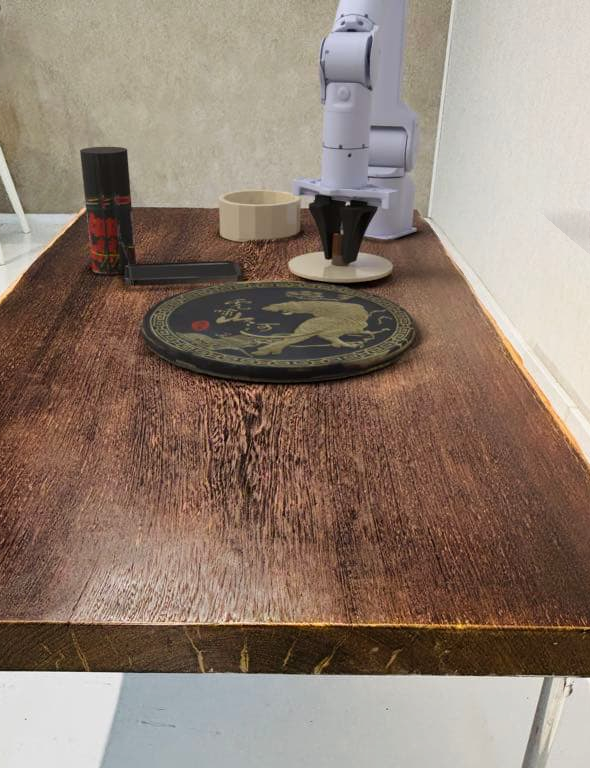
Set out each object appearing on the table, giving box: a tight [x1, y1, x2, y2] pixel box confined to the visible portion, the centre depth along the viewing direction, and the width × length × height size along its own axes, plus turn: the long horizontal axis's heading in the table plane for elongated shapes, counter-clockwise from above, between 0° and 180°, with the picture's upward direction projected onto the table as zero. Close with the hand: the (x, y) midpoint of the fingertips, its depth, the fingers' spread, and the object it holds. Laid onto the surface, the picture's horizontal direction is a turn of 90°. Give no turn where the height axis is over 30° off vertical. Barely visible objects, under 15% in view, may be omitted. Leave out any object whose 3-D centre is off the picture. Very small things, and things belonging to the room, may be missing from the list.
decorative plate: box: [141, 280, 416, 384], centre depth 94 cm, size 30×2×30 cm
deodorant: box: [79, 146, 137, 276], centre depth 113 cm, size 6×6×15 cm
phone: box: [124, 260, 243, 287], centre depth 113 cm, size 8×1×15 cm
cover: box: [287, 229, 394, 284], centre depth 111 cm, size 14×14×5 cm
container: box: [217, 189, 302, 243], centre depth 134 cm, size 13×13×5 cm
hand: (340, 259), depth 112 cm, fingers closed on cover, 2 cm apart
